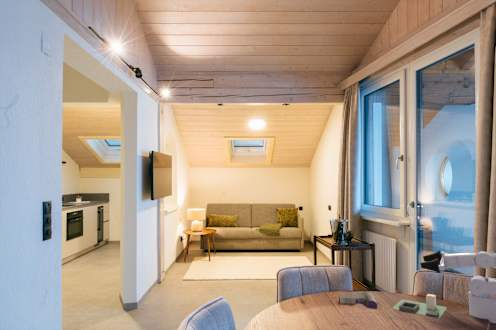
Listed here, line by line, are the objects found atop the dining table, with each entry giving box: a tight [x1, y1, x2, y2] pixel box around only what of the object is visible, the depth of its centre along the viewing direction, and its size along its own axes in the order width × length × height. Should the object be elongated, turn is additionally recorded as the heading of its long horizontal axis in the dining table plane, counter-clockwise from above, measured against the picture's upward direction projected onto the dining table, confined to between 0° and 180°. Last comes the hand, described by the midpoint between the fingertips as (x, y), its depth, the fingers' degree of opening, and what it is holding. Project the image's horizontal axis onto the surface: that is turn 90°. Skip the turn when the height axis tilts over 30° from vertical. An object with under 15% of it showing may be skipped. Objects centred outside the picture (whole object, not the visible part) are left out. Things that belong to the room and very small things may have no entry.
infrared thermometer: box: [338, 292, 379, 309], centre depth 151 cm, size 5×12×15 cm
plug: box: [425, 293, 437, 310], centre depth 144 cm, size 3×4×5 cm, turn 142°
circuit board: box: [391, 299, 448, 319], centre depth 144 cm, size 18×16×2 cm
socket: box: [398, 302, 419, 314], centre depth 143 cm, size 6×8×2 cm
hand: (422, 262), depth 149 cm, fingers open, 7 cm apart
